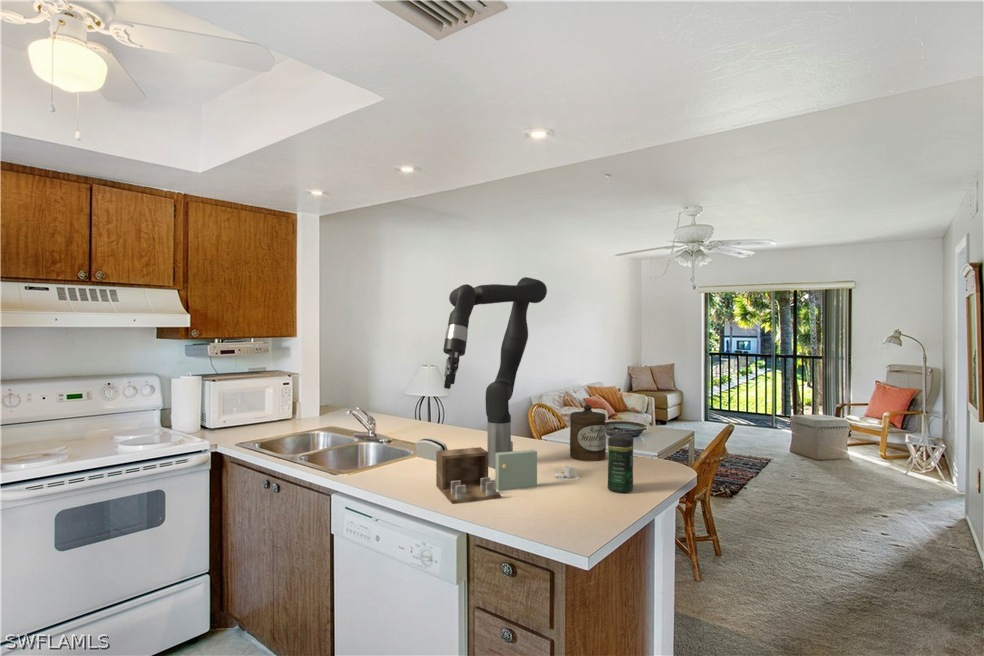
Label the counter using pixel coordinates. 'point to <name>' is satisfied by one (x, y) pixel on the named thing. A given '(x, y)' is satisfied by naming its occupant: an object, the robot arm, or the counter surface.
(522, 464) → the door
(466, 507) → the counter surface
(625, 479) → the coffee jar
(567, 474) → the teacup and saucer
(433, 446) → the grey rounded block
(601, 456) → the wooden container
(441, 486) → the cabinet
